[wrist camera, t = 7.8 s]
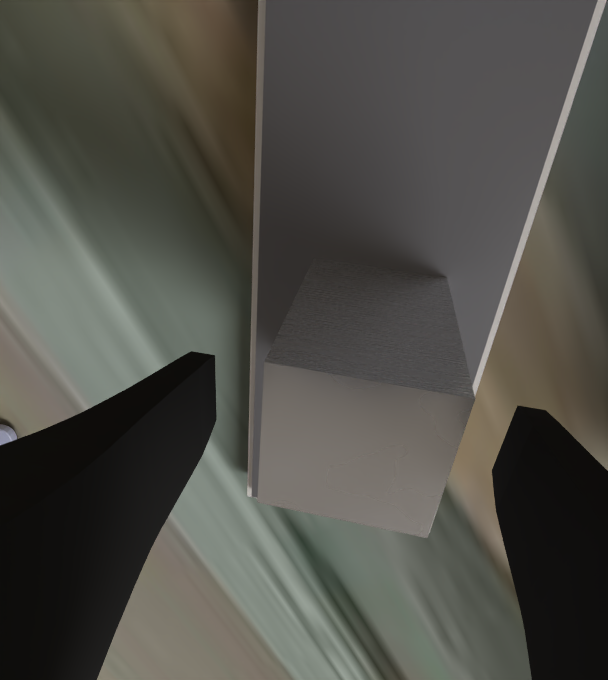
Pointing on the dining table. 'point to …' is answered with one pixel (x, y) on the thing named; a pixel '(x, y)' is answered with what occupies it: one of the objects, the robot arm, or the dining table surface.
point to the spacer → (364, 398)
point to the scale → (405, 148)
